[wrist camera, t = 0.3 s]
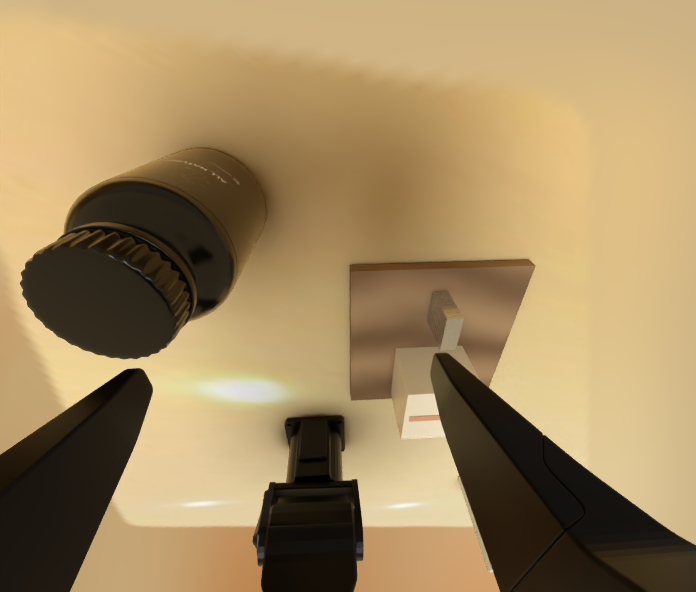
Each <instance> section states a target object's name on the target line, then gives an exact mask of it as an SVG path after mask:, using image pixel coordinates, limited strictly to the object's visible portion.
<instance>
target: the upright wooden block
mask: <svg viewBox="0 0 696 592" xmlns="http://www.w3.org/2000/svg"><path fill="white" fill-rule="evenodd" d="M463 321H464V317H463V316H462V314H461V312H460V311H459V309H458V307H457V305H456V304H455V302H454V300H453V299H452V297H451V295H450V294H449V292H448V291H433V292H432V297H431V303H430V308H429V314H428V320H427V322H428V324H429V326H430V329H431V331H432V333H433V336H434V338H435V340H436V343H437V345H438V347H439V350H440V351H443V350H456V347H457V343H458V340H459V336H460V332H461V328H462V324H463Z"/></svg>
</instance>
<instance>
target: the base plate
mask: <svg viewBox="0 0 696 592" xmlns="http://www.w3.org/2000/svg"><path fill="white" fill-rule="evenodd" d="M534 268H535V265H534V264H533V263H532V262H531V261H529V260H498V261H466V262H433V263H401V264H369V265H350V393H351V400H370V399H390V398H392V395H391V387H392V378H393V370H394V361H395V352H396V348H416V347H438V345H437V343H436V340H435V338H434V336H433V333H432V331H431V329H430V326H429V324H428V322H427V320H428V314H429V308H430V303H431V297H432V292H433V291H448V292H449V294H450V295H451V297H452V299H453V300H454V302H455V304H456V305H457V307H458V309H459V311H460V312H461V314H462V316H463V317H464V321H463V324H462V328H461V332H460V336H459V340H458V343H457V346H463V348H464V350H465V352H466V354H467V356H468V358H469V360H470V362H471V364H472V366H473V367H474V369H475V371H476V373H477V375H478V377H479V379H480V381H482V382H483V383H484V384H485V385H486V386H488V387H489V385H490V382H491V380H492V377H493V375H494V372H495V370H496V367H497V364H498V362H499V359H500V357H501V354H502V351H503V349H504V346H505V344H506V341H507V338H508V336H509V333H510V331H511V328H512V325H513V323H514V320H515V318H516V315H517V312H518V310H519V307H520V305H521V302H522V299H523V297H524V294H525V292H526V289H527V287H528V284H529V281H530V279H531V276H532V274H533V271H534Z"/></svg>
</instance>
